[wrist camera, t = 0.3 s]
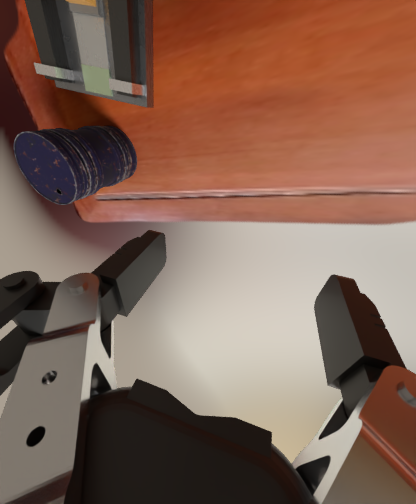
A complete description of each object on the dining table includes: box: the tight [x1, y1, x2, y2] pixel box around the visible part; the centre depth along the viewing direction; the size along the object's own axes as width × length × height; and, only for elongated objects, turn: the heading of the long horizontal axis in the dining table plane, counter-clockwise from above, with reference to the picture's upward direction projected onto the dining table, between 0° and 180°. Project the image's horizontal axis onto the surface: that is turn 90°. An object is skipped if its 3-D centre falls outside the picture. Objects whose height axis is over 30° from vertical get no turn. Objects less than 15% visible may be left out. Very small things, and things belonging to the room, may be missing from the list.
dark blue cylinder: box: [14, 126, 137, 205], centre depth 33 cm, size 10×10×15 cm
